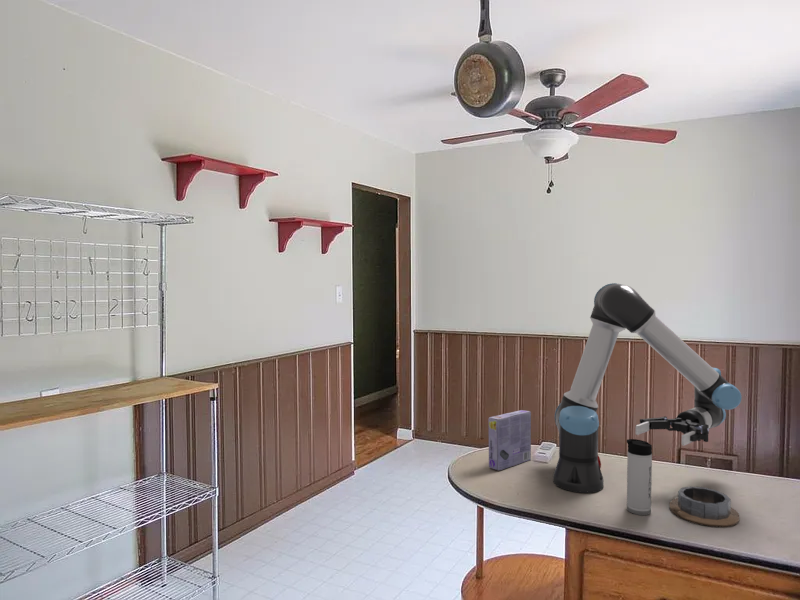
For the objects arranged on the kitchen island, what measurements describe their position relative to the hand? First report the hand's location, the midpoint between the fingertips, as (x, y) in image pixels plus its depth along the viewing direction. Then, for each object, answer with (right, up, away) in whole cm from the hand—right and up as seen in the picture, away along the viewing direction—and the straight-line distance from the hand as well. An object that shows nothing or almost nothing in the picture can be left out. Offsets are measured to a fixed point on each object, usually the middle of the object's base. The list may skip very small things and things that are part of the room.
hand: (659, 435), depth 160 cm
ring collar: (+9, -20, -6) cm, 23 cm away
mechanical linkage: (-12, -18, +33) cm, 40 cm away
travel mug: (-8, -20, -5) cm, 22 cm away
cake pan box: (-36, -18, +34) cm, 53 cm away
